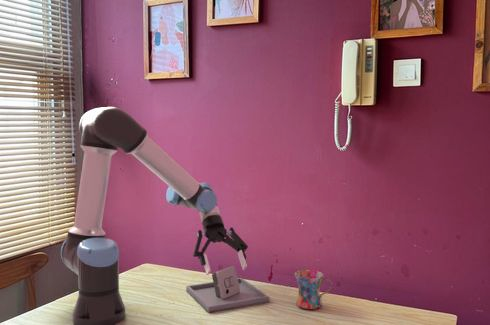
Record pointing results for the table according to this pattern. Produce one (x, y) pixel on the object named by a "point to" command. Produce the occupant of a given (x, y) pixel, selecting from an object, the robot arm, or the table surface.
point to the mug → (309, 288)
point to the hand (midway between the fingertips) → (227, 270)
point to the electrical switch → (226, 282)
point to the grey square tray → (215, 304)
